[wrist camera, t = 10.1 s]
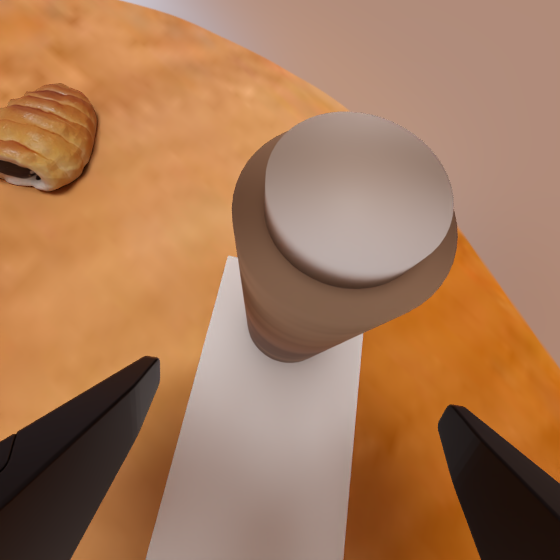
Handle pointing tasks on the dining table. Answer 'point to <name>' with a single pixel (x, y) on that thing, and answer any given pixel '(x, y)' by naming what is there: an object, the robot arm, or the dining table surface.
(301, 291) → the pepper mill
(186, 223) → the dining table surface
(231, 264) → the grey board
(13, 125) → the pastry
